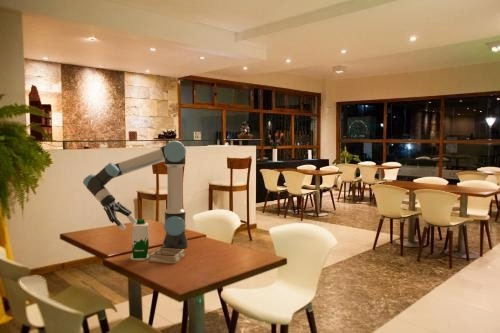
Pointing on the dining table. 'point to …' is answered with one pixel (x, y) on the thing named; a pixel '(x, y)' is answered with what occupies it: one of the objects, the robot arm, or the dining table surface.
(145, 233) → the soya milk
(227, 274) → the dining table surface
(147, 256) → the pale green disc
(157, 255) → the dock
